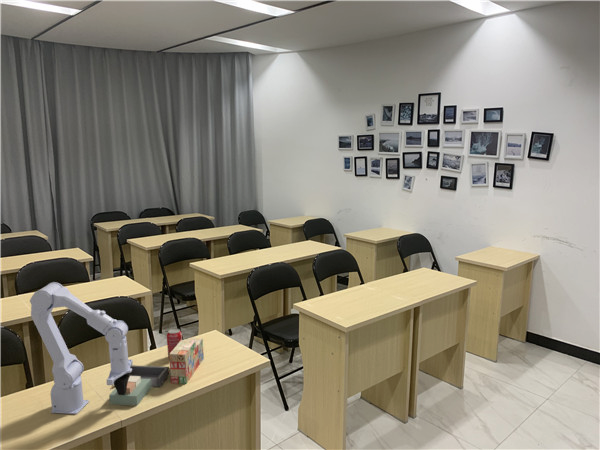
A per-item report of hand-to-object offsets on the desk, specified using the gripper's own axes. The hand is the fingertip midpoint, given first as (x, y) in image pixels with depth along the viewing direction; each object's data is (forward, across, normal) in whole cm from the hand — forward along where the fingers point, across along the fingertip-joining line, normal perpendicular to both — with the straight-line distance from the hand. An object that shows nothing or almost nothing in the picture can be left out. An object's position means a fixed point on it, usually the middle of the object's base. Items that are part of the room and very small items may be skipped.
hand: (122, 393), depth 158 cm
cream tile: (+1, +8, 0) cm, 9 cm away
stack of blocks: (+5, +27, -14) cm, 31 cm away
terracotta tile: (+1, +4, 0) cm, 4 cm away
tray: (+4, +18, 0) cm, 18 cm away
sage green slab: (+4, +6, 0) cm, 8 cm away
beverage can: (+5, +38, -5) cm, 38 cm away
